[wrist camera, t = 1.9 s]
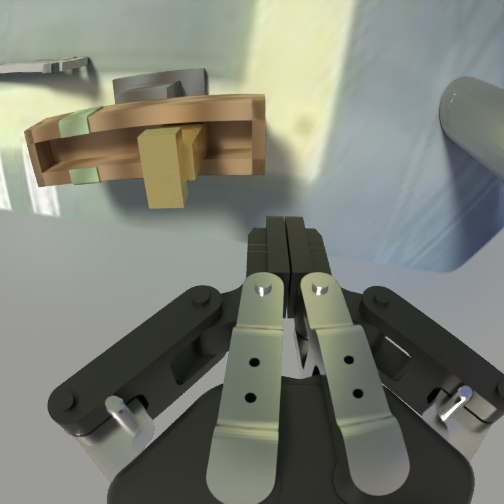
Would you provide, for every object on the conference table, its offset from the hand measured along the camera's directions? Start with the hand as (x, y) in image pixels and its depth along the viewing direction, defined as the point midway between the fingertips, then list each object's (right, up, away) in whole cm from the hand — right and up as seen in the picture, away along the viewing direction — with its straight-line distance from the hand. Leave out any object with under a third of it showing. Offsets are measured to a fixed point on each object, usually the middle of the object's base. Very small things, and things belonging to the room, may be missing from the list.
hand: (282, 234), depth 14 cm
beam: (-11, +14, +18) cm, 26 cm away
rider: (-7, +9, +12) cm, 17 cm away
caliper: (-29, +22, +13) cm, 39 cm away
